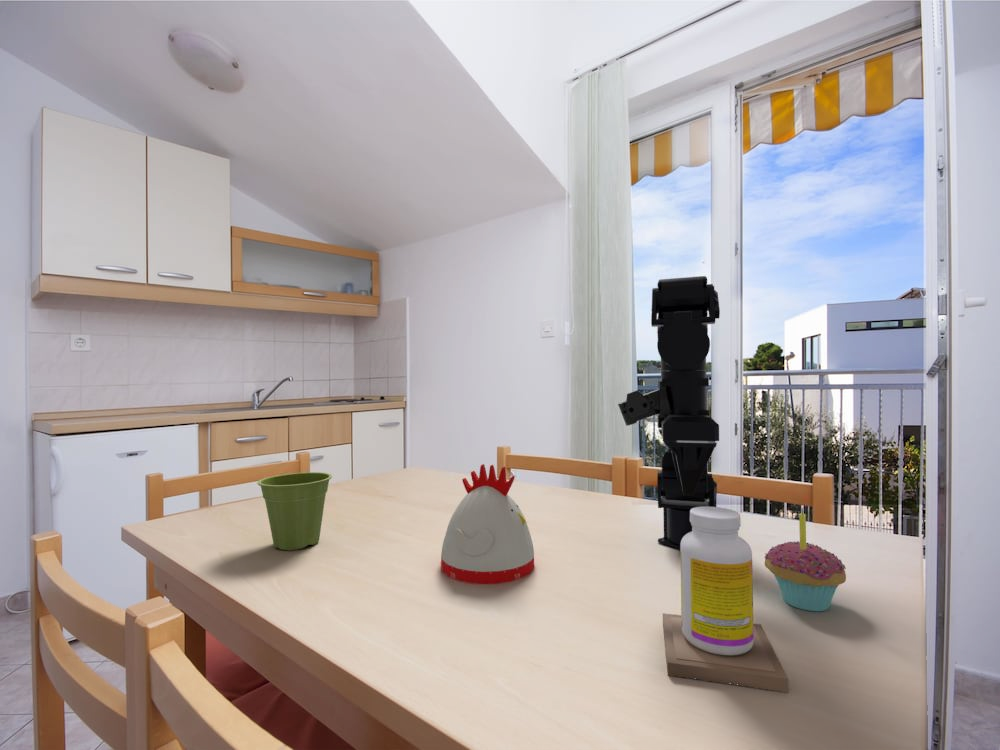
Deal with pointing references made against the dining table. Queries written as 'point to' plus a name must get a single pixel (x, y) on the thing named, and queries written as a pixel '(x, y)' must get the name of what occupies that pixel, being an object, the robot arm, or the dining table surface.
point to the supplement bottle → (716, 583)
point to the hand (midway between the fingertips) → (684, 487)
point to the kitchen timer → (487, 534)
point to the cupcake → (805, 572)
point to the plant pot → (295, 507)
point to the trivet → (723, 660)
